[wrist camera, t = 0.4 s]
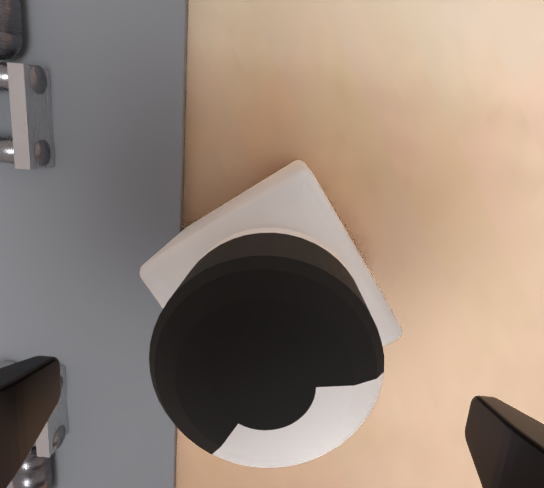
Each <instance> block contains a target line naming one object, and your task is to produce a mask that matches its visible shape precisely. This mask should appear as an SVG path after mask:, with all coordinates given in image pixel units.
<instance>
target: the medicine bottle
mask: <svg viewBox="0 0 544 488" xmlns="http://www.w3.org/2000/svg"><path fill="white" fill-rule="evenodd" d="M139 274H140V277H141V279H142V280H143V282H144V283H145V284H146V286H147V287H148V289H149V290H150V291H151V293H152V294H153V296H154V297H155V298H156V300H157V301H158V303H159V304H160V305H161V307H162V308H163V310H162V311H161V313H160V315H159V317H158V319H157V322H156V324H155V327H154V329H153V333H152V337H151V341H150V350H149V367H150V375H151V379H152V384H153V387H154V390H155V393H156V395H157V398H158V400H159V402H160V404H161V406H162V407H163V409H164V411H165V413H166V414H167V415H168V417H169V418H170V419H171V421H172V422H173V423H174V425H175V426H176V427H177V428H178V429H179V430H180V431H181V432H182V433H183V434H184V435H185V436H186V437H187V438H189V439H190V440H191V441H192V442H194V443H195V444H196V445H198V446H199V447H200V448H202V449H204V450H205V451H207V452H209V453H210V454H212V455H214V456H217V457H219V458H221V459H223V460H226V461H229V462H233V463H236V464H239V465H244V466H250V467H259V468H279V467H287V466H293V465H298V464H301V463H305V462H308V461H311V460H313V459H316V458H318V457H320V456H322V455H324V454H326V453H328V452H329V451H331V450H333V449H334V448H336V447H338V446H339V445H341V444H342V443H343V442H344V441H346V440H347V439H348V438H349V437H351V436H352V435H353V434H354V433H355V432H356V431H357V430H358V429H359V427H360V426H361V425H362V424H363V423H364V421H365V420H366V418H367V417H368V416H369V414H370V413H371V411H372V409H373V407H374V405H375V403H376V401H377V398H378V395H379V392H380V389H381V386H382V380H383V374H384V354H383V347H384V346H386V345H388V344H390V343H392V342H394V341H395V340H397V339H399V338H400V337H401V334H402V327H401V324H400V323H399V321H398V319H397V318H396V316H395V314H394V312H393V311H392V309H391V307H390V305H389V304H388V302H387V300H386V299H385V297H384V295H383V293H382V292H381V290H380V288H379V286H378V285H377V283H376V281H375V280H374V278H373V276H372V274H371V273H370V271H369V269H368V267H367V266H366V264H365V262H364V261H363V259H362V257H361V255H360V254H359V252H358V250H357V248H356V247H355V245H354V243H353V242H352V240H351V238H350V236H349V235H348V233H347V231H346V229H345V228H344V226H343V224H342V223H341V221H340V219H339V217H338V216H337V214H336V212H335V210H334V209H333V207H332V205H331V204H330V202H329V200H328V198H327V197H326V195H325V193H324V191H323V190H322V188H321V186H320V185H319V183H318V181H317V179H316V178H315V176H314V174H313V173H312V171H311V170H310V169H309V168H308V166H307V165H306V164H305V163H304V162H303V161H302V160H299V159H298V160H295V161H293V162H291V163H290V164H288V165H287V166H285V167H283V168H282V169H280V170H278V171H277V172H275V173H274V174H272V175H270V176H269V177H267V178H265V179H264V180H262V181H260V182H259V183H257V184H256V185H254V186H252V187H251V188H249V189H247V190H246V191H244V192H243V193H241V194H239V195H238V196H236V197H234V198H233V199H231V200H230V201H228V202H226V203H225V204H223V205H221V206H220V207H218V208H217V209H215V210H213V211H212V212H210V213H208V214H207V215H205V216H203V217H202V218H200V219H199V220H197V221H195V222H194V223H192V224H190V225H189V226H187V227H186V228H185V229H184V230H182V231H181V232H180V233H179V234H178V235H177V236H175V237H174V238H173V239H172V240H171V241H170V242H169V243H167V244H166V245H165V246H164V247H163V248H162V249H160V250H159V251H158V252H157V253H156V254H155V255H153V256H152V257H151V258H150V259H149V260H148V261H146V262H145V263H144V264H143V265H142V266H141V268H140V273H139Z"/></svg>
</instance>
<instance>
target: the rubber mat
mask: <svg viewBox="0 0 544 488" xmlns="http://www.w3.org/2000/svg"><path fill="white" fill-rule="evenodd" d="M20 3H21V18H22V33H23V45H22V49H21V50H20V52H19V53H18V54H17V55H16V56H15V57H13V58H11V59H8V60H0V62H4V63H7V62H9V63H22V64H29V65H39V66H41V67H42V68H43V69H44V70H47V71H50V77H51V96H52V115H53V135H54V154H55V167H50V168H41V169H32V170H28V169H16V168H15V164H12V163H0V362H2V361H3V360H13V361H16V363H17V362H20V361H23V360H26V359H29V358H32V357H35V356H40V355H41V356H52V357H56V358H57V359H58V360H59V362H60V365H65V366H66V386H67V405H68V424H69V432H68V434H67V435H66V437H65V438H64V441H63V443H62V445H61V446H60V447H59V448H58V449H56V450H55V451H54V453H53V454H52V455H51V471H52V486H53V488H175V480H176V441H177V427H176V426H175V425H174V423H173V422H172V421H171V419H170V418H169V417H168V415H167V414H166V413H165V411H164V409H163V407H162V406H161V404H160V402H159V400H158V398H157V395H156V393H155V390H154V387H153V384H152V379H151V375H150V367H149V350H150V341H151V337H152V333H153V329H154V327H155V324H156V322H157V319H158V317H159V315H160V313H161V311H162V310H163V308H162V307H161V305H160V304H159V303H158V301H157V300H156V298H155V297H154V296H153V294H152V293H151V291H150V290H149V289H148V287H147V286H146V284H145V283H144V282H143V280H142V279H141V277H140V274H139V273H140V268H141V266H142V265H143V264H144V263H145V262H146V261H148V260H149V259H150V258H151V257H152V256H153V255H155V254H156V253H157V252H158V251H159V250H160V249H162V248H163V247H164V246H165V245H166V244H167V243H169V242H170V241H171V240H172V239H173V238H174V237H175V236H177V235H178V234H179V233H180V232H181V231H182V210H183V171H184V133H185V94H186V56H187V17H188V0H20ZM0 136H3V137H13V136H12V123H11V110H10V97H9V91H0ZM7 488H12V483H11V482H10V484H9V485H8V486H7Z"/></svg>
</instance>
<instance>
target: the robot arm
mask: <svg viewBox="0 0 544 488" xmlns="http://www.w3.org/2000/svg"><path fill="white" fill-rule="evenodd" d="M60 395H61V376H60V362H59V360H58V359H57V358H56V357H52V356H41V355H40V356H35V357H32V358H29V359H26V360H23V361H20V362H17V363H14V364H11V365H8V366H5V367H2V368H0V488H7V486H8V485H9V484H10V482H11V481H12V479H13V478H14V476H15V475H16V473H17V472H18V470H19V469H20V468H21V466H22V464H23V463H24V461H25V459H26V458H27V456H28V454H29V453H30V451H31V449H32V447H33V446H34V444H35V442H36V440H37V439H38V437H39V435H40V433H41V432H42V430H43V428H44V426H45V425H46V423H47V421H48V419H49V418H50V416H51V414H52V412H53V411H54V409H55V407H56V406H57V404H58V402H59V399H60ZM465 437H466V442H467V445H468V447H469V450H470V453H471V456H472V459H473V461H474V464H475V467H476V470H477V473H478V475H479V478H480V481H481V484H482V487H483V488H544V424H542V423H540V422H539V421H537V420H535V419H533V418H531V417H530V416H528V415H526V414H524V413H522V412H520V411H519V410H517V409H515V408H513V407H511V406H510V405H508V404H506V403H504V402H502V401H500V400H499V399H497V398H494V397H487V396H475V397H474V398H473V399H472V401H471V405H470V409H469V414H468V418H467V423H466V427H465Z"/></svg>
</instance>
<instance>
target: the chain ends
mask: <svg viewBox="0 0 544 488" xmlns="http://www.w3.org/2000/svg"><path fill="white" fill-rule="evenodd" d="M22 45H23V33H22V18H21V3H20V0H0V60H8V59H11V58H13V57H15V56H16V55H17V54H18V53H19V52H20V50H21V49H22ZM0 91H9V97H10V110H11V123H12V136H13V137H3V136H0V163H12V164H15V168H16V169H28V170H32V169H41V168H50V167H55V154H54V135H53V115H52V96H51V77H50V71H47V70H44V69H43V68H42V67H41V66H39V65H29V64H22V63H9V62H7V63H4V62H0ZM14 363H16V361H13V360H3V361H2V362H0V368H2V367H5V366H8V365H11V364H14ZM60 376H61V395H60V399H59V402H58V404H57V406H56V407H55V409H54V411H53V412H52V414H51V416H50V418H49V419H48V421H47V423H46V425H45V426H44V428H43V430H42V432H41V433H40V435H39V437H38V439H37V440H36V442H35V444H34V446H33V447H32V449H31V451H30V453H29V454H28V456H27V458H26V459H25V461H24V463H23V464H22V466H21V468H20V469H19V470H18V472H17V473H16V475H15V476H14V478H13V479H12V481H11V483H12V488H53V486H52V471H51V455H52V454H53V453H54V451H55V450H56V449H58V448H59V447H60V446H61V445H62V443H63V441H64V438H65V437H66V435H67V434H68V432H69V424H68V405H67V386H66V366H65V365H60Z"/></svg>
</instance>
